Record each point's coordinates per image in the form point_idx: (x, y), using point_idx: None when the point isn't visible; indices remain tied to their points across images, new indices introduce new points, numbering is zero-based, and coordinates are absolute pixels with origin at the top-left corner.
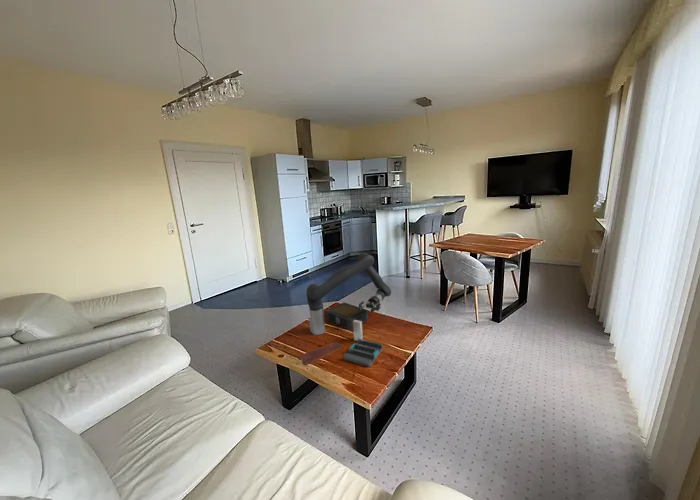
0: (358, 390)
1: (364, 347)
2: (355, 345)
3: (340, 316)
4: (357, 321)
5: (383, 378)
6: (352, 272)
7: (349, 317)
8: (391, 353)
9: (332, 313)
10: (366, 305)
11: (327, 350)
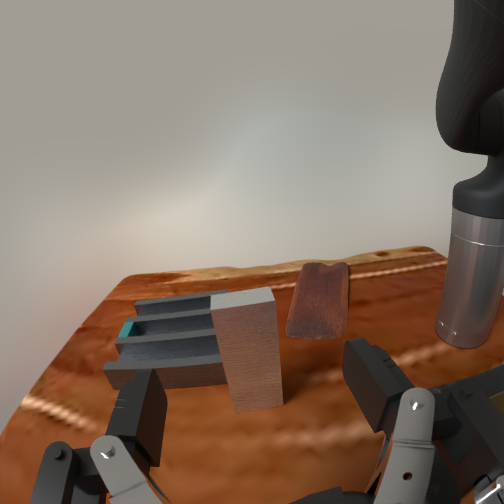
0: (151, 278)
1: (174, 334)
2: None
3: (493, 369)
4: (238, 297)
5: (105, 308)
6: None
7: None
8: (81, 379)
9: None
10: (357, 494)
11: (310, 299)
